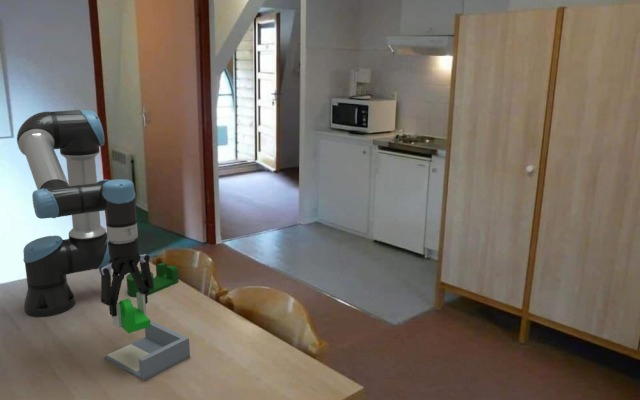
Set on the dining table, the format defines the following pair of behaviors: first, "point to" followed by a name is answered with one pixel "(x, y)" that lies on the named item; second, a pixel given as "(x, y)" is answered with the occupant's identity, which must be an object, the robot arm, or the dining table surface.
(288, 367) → the dining table surface
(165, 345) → the corner arena
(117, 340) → the dining table surface
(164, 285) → the slotted cylinder bracket
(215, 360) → the dining table surface
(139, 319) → the mechanical part
